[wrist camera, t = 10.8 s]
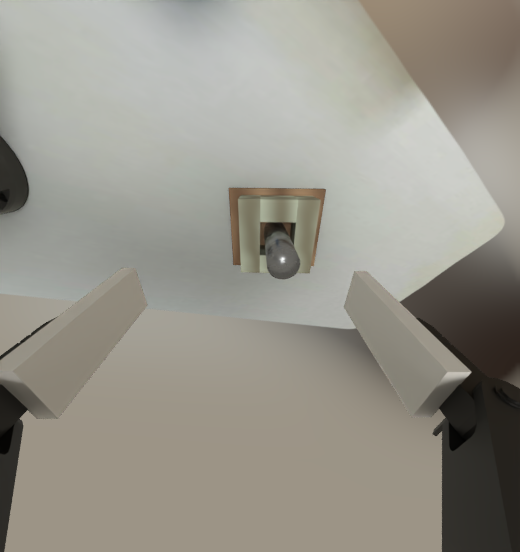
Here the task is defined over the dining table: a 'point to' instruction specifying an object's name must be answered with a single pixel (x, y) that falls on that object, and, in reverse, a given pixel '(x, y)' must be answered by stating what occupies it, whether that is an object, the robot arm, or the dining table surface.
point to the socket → (274, 208)
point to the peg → (280, 251)
